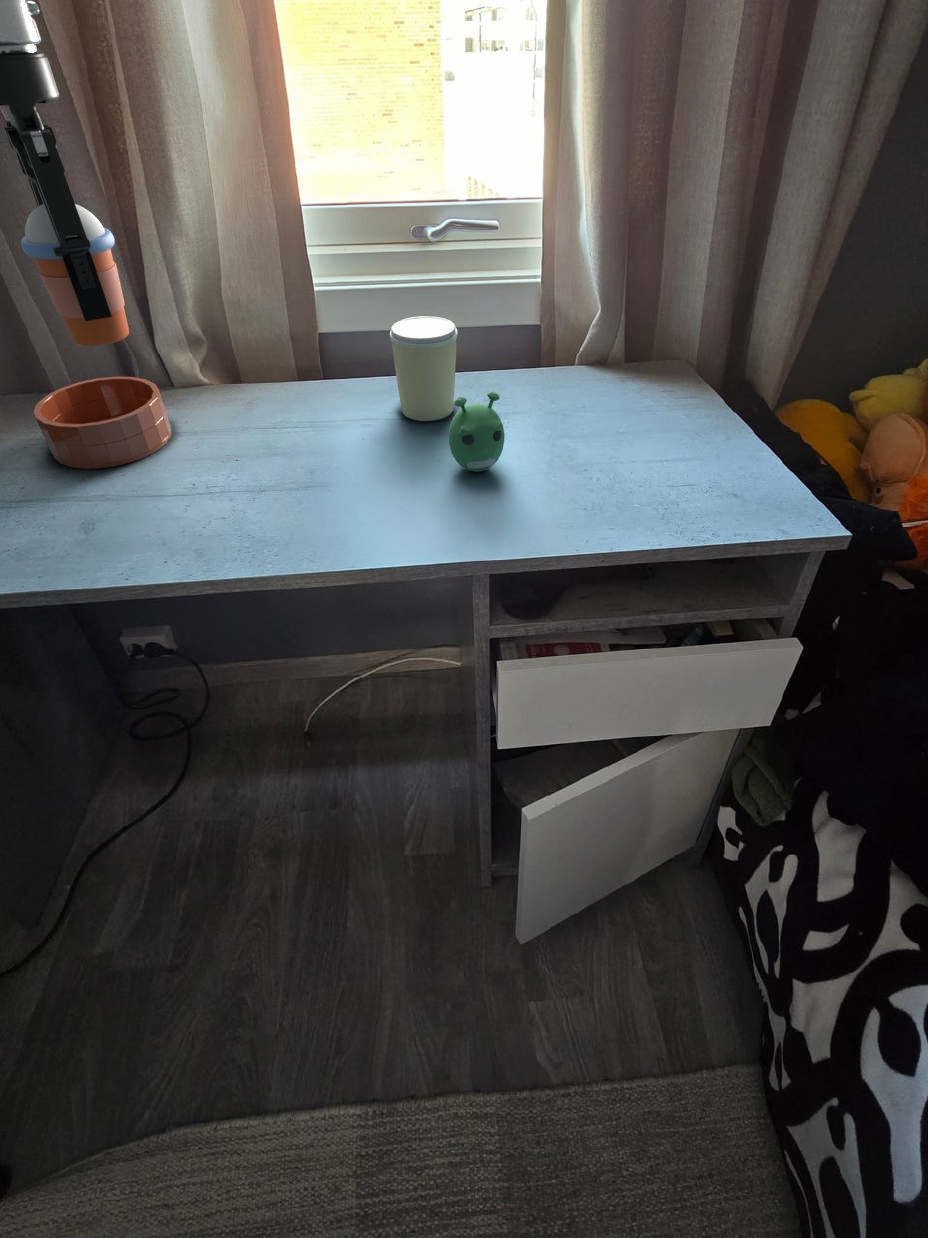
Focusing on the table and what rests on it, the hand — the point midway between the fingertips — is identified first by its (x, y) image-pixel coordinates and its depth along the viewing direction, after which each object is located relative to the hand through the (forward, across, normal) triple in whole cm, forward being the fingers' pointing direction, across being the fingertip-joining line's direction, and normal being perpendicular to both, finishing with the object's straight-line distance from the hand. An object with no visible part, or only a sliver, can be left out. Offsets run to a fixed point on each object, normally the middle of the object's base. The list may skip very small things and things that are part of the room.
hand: (90, 306), depth 78 cm
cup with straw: (+4, 0, 0) cm, 4 cm away
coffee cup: (+20, -6, -39) cm, 45 cm away
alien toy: (+20, -25, -36) cm, 48 cm away
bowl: (+20, +9, +2) cm, 22 cm away
